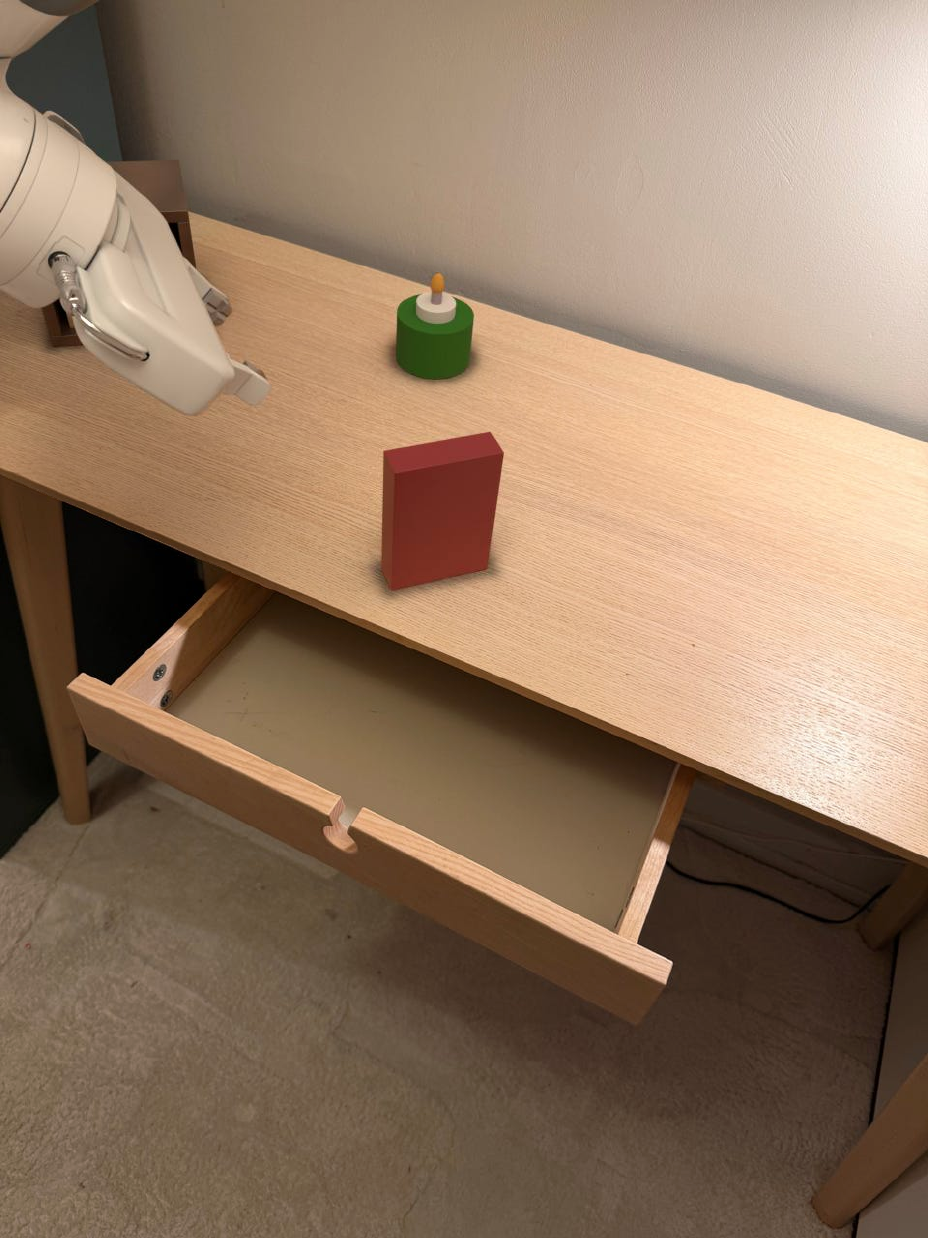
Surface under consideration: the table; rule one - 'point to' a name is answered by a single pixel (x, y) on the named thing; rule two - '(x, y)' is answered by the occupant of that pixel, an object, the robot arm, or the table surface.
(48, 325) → the bookshelf
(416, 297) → the candle
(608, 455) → the table surface
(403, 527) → the book
